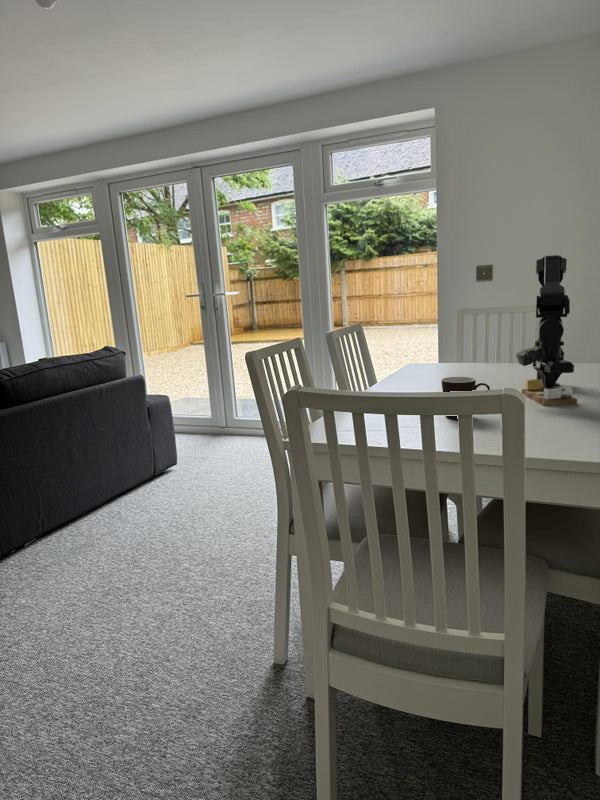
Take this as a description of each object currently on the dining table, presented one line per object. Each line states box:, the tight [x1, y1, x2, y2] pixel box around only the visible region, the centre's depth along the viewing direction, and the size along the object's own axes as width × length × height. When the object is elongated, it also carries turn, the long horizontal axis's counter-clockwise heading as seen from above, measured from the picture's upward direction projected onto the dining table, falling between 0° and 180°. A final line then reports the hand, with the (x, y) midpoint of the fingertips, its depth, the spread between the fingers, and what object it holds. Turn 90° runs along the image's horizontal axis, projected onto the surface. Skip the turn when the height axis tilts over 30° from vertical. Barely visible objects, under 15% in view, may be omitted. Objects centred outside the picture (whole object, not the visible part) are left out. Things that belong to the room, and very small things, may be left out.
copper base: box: [521, 388, 578, 407], centre depth 165 cm, size 17×9×2 cm, turn 179°
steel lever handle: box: [544, 385, 573, 399], centre depth 158 cm, size 8×4×3 cm, turn 106°
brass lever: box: [524, 378, 555, 390], centre depth 170 cm, size 8×4×3 cm, turn 89°
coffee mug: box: [440, 376, 491, 421], centre depth 148 cm, size 12×9×10 cm
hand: (547, 393), depth 160 cm, fingers closed
